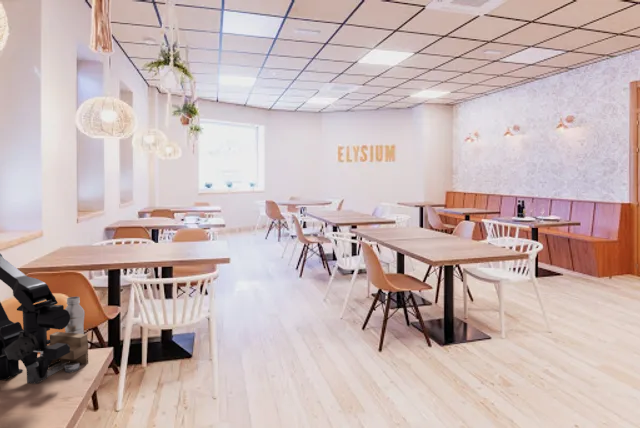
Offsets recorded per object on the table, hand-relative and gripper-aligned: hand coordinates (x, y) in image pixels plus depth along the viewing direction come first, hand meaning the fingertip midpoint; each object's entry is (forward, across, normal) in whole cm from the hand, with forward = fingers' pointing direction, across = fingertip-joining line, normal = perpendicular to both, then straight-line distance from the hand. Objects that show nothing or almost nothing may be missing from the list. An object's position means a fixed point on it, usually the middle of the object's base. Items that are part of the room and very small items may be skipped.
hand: (37, 377), depth 129 cm
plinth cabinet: (+1, 0, +11) cm, 11 cm away
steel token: (+1, +4, +8) cm, 10 cm away
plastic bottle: (+1, -2, +18) cm, 18 cm away
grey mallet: (+1, 0, +4) cm, 4 cm away
